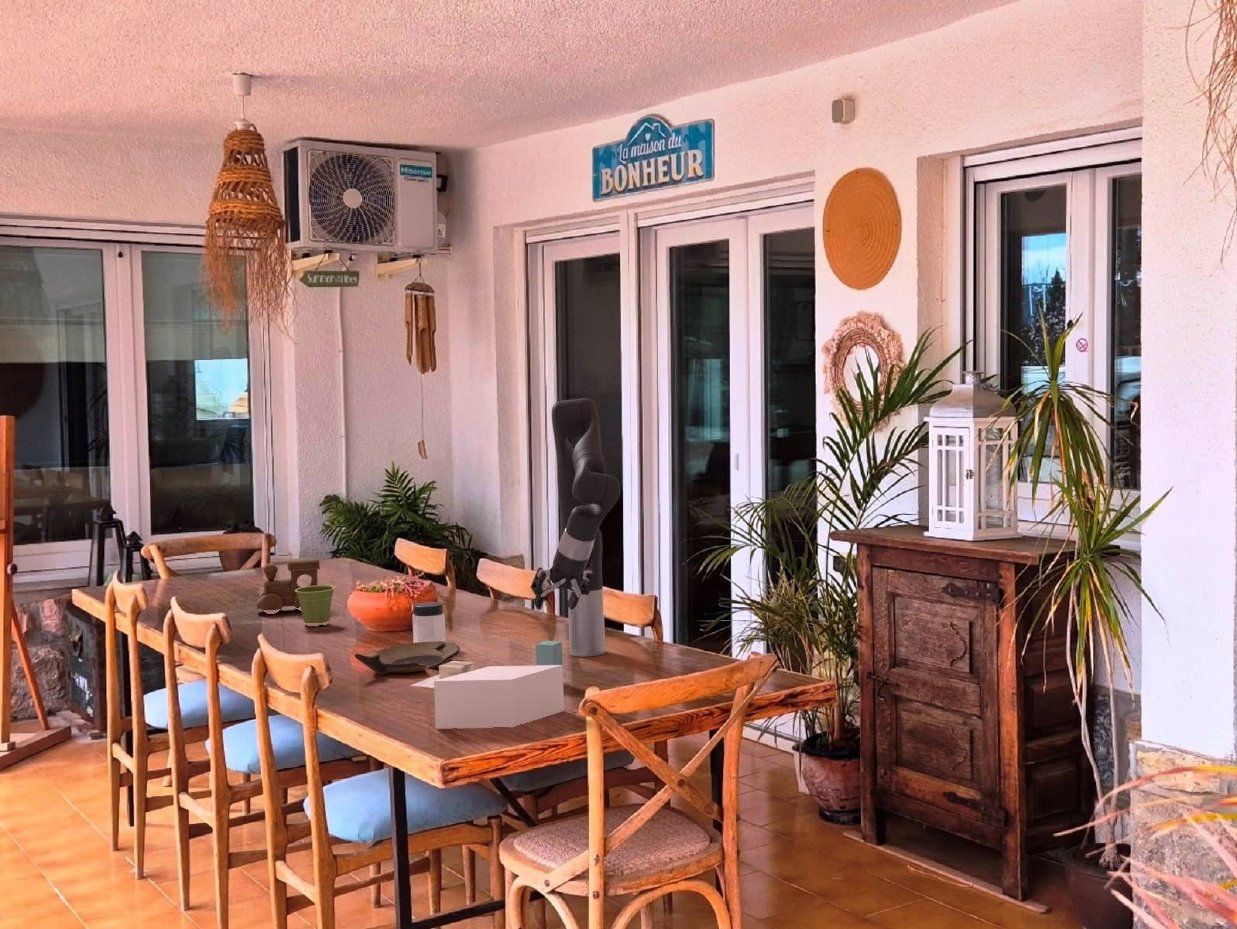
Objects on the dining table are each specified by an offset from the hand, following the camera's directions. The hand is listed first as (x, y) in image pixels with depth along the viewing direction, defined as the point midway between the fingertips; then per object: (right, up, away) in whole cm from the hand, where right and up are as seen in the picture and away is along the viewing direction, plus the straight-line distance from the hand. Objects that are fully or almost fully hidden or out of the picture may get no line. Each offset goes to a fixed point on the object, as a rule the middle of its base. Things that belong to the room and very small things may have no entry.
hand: (553, 607), depth 305 cm
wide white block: (-10, -22, -24) cm, 34 cm away
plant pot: (-77, -16, +94) cm, 122 cm away
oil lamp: (-39, -19, +26) cm, 51 cm away
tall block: (-1, -19, +7) cm, 20 cm away
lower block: (-24, -19, +9) cm, 31 cm away
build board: (-24, -20, +9) cm, 32 cm away
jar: (-37, -17, +55) cm, 68 cm away
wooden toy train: (-91, -15, +120) cm, 152 cm away
